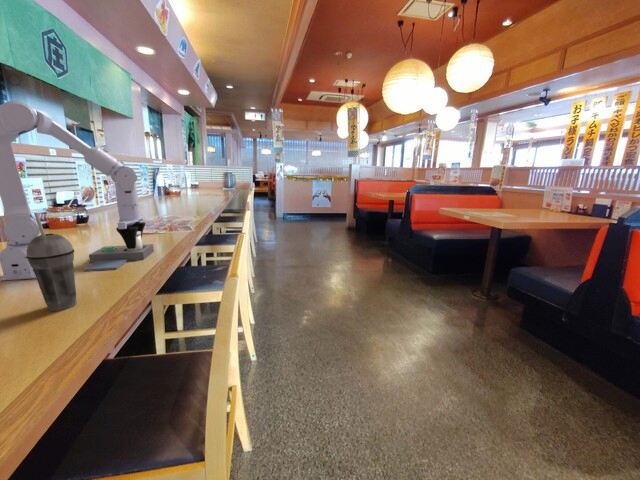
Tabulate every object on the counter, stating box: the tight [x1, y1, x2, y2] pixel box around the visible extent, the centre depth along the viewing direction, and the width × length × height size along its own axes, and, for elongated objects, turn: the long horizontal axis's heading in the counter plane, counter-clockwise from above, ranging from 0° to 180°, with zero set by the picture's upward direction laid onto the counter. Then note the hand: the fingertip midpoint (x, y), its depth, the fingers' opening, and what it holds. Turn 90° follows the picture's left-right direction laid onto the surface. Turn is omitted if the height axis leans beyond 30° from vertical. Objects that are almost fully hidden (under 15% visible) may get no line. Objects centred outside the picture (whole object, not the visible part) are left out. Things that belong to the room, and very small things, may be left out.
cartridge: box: [127, 231, 143, 251], centre depth 96 cm, size 5×5×8 cm
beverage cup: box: [26, 212, 77, 312], centre depth 60 cm, size 7×7×20 cm
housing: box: [88, 243, 155, 264], centre depth 96 cm, size 10×15×2 cm, turn 103°
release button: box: [103, 245, 115, 251], centre depth 95 cm, size 3×3×3 cm
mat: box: [84, 259, 129, 272], centre depth 87 cm, size 8×8×1 cm
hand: (134, 246), depth 97 cm, fingers closed on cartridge, 4 cm apart
